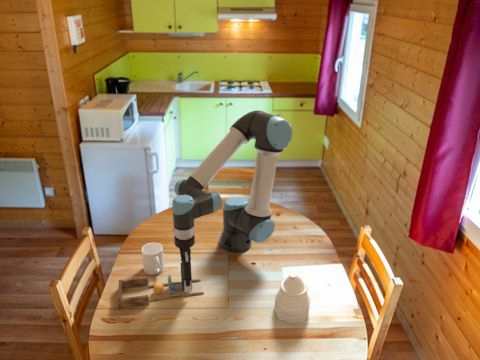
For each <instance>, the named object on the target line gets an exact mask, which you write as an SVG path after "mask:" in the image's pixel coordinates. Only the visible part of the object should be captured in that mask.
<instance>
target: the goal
mask: <svg viewBox="0 0 480 360" xmlns="http://www.w3.org/2000/svg"><path fill="white" fill-rule="evenodd" d="M148 279H149V278H148V276H139V277H133V278H132V277H131V278H125V279H119V280H118V287H117V288H118V290H117V306H118V310H123V309H130V308H136V307H143V306H144V307H145V306H149V305H150V302H149V299H150V297H149V294H145V295H138V296H131V297H124V298H123V290H129V289H134V288H141V287H142V288H143V287H148V286H149V280H148Z"/></svg>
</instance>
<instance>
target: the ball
mask: <svg viewBox="0 0 480 360" xmlns="http://www.w3.org/2000/svg"><path fill="white" fill-rule="evenodd" d="M162 284H163V283H156V284H154V285H155V286H154V287H153V292H154V293H155V294H157V295H160V294H162V293H163V292H164V290H165V286H163V285H162Z"/></svg>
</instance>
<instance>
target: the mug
mask: <svg viewBox="0 0 480 360" xmlns="http://www.w3.org/2000/svg"><path fill="white" fill-rule="evenodd" d="M163 248H164V247H163V245H162V244H161V243H159V242H149V243H146V244H144V245H143V246H141V257H142V265H143V271H144V273H145V274H147V275H151V276H152V275H153V276H154V275H158V274H160V273H162V272H163V270H164V269H165V261H164V249H163Z"/></svg>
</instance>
